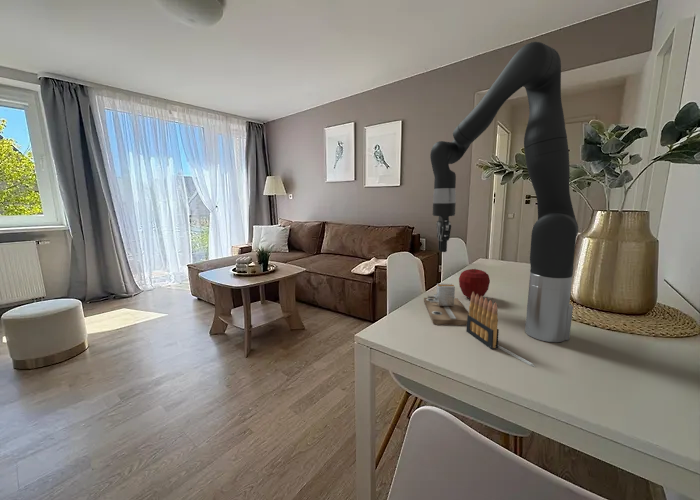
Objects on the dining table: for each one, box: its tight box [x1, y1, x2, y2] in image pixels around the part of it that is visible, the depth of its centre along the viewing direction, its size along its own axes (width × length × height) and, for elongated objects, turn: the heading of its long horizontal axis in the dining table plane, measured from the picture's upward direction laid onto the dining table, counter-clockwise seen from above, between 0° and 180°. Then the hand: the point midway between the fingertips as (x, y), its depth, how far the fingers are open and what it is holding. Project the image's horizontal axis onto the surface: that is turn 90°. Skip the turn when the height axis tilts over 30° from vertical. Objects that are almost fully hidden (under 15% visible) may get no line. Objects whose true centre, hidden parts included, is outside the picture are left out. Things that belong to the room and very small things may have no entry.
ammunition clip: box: [465, 292, 500, 350], centre depth 77 cm, size 11×2×12 cm, turn 12°
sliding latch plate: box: [423, 293, 469, 326], centre depth 96 cm, size 12×20×3 cm, turn 174°
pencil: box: [497, 344, 536, 367], centre depth 71 cm, size 1×1×15 cm
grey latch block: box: [430, 283, 456, 306], centre depth 98 cm, size 8×4×7 cm, turn 84°
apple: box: [458, 268, 491, 300], centre depth 109 cm, size 11×11×12 cm
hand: (442, 250), depth 103 cm, fingers open, 2 cm apart
